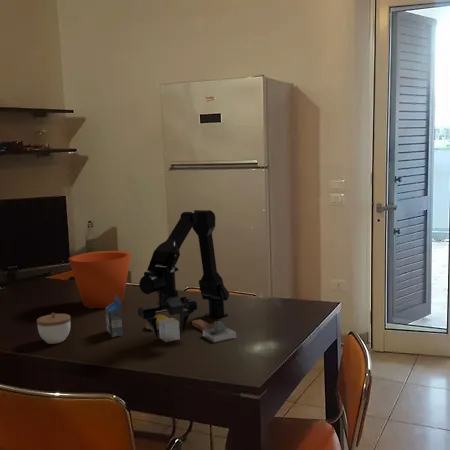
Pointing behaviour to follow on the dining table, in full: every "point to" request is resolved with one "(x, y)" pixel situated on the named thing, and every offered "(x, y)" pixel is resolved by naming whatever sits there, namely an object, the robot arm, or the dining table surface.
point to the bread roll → (159, 317)
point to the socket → (169, 329)
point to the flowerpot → (101, 276)
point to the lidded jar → (54, 327)
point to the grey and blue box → (114, 318)
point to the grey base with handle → (214, 330)
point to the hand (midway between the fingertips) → (169, 334)
